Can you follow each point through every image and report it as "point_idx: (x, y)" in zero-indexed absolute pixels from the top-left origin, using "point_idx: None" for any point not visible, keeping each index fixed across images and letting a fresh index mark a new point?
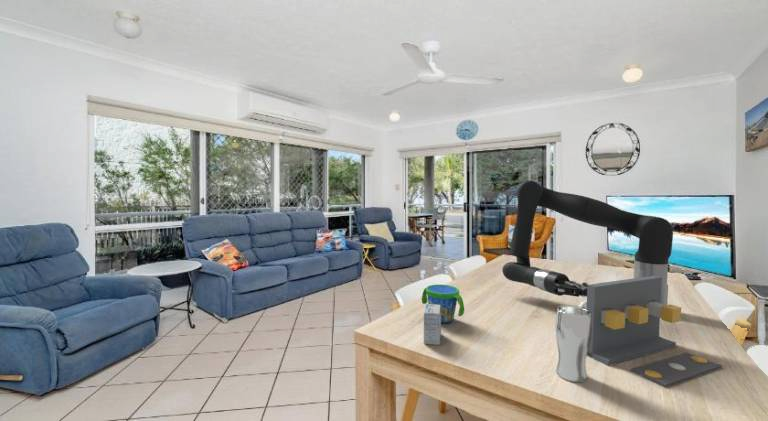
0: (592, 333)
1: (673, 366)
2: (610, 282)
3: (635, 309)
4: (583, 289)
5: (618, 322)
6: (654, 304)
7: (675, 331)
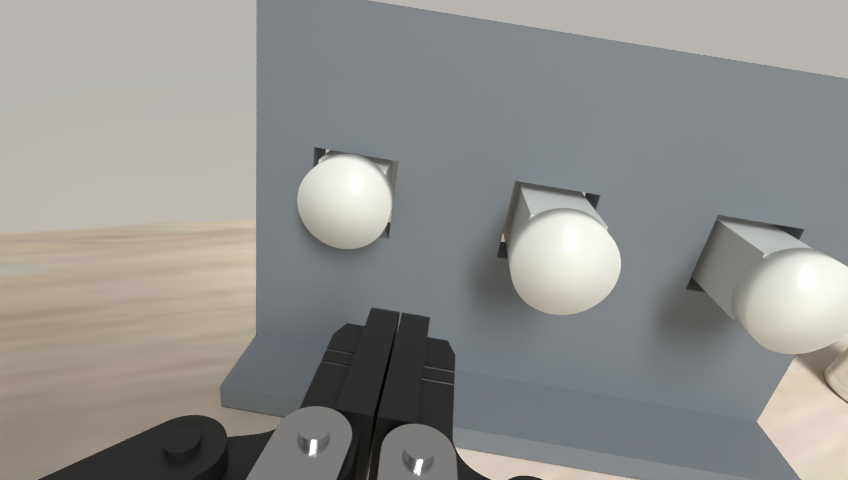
0: None
1: None
2: (738, 61)
3: None
4: (443, 445)
5: None
6: None
7: (38, 317)
